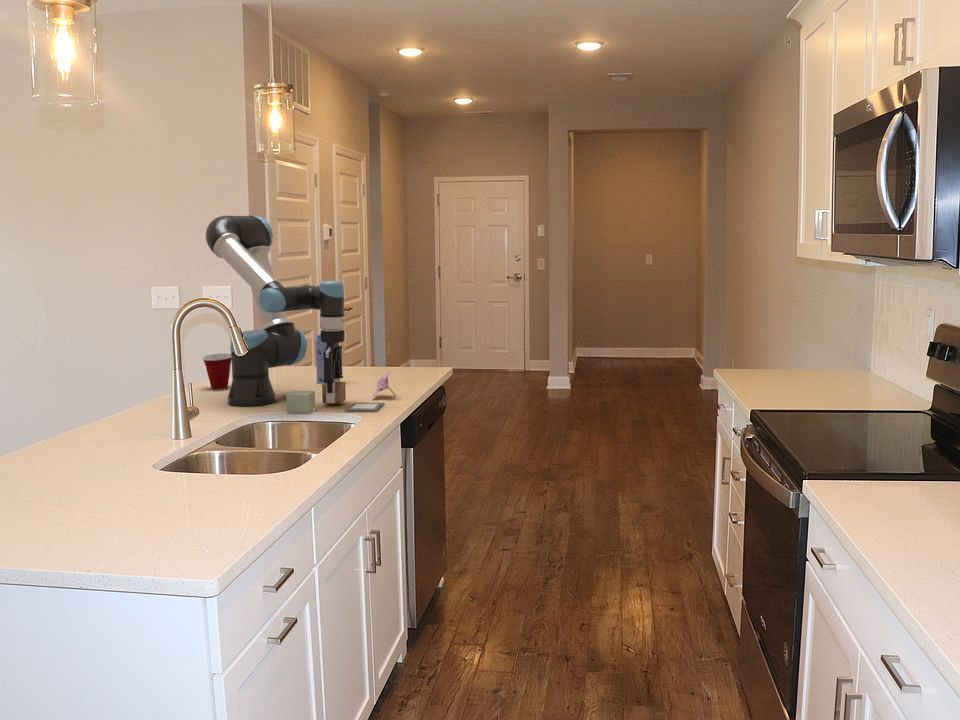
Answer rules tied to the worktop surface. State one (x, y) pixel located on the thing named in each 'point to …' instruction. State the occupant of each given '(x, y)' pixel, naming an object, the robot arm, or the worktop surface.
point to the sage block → (300, 402)
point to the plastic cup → (218, 369)
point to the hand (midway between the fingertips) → (333, 400)
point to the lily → (383, 384)
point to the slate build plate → (364, 407)
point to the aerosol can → (320, 359)
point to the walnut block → (339, 393)
